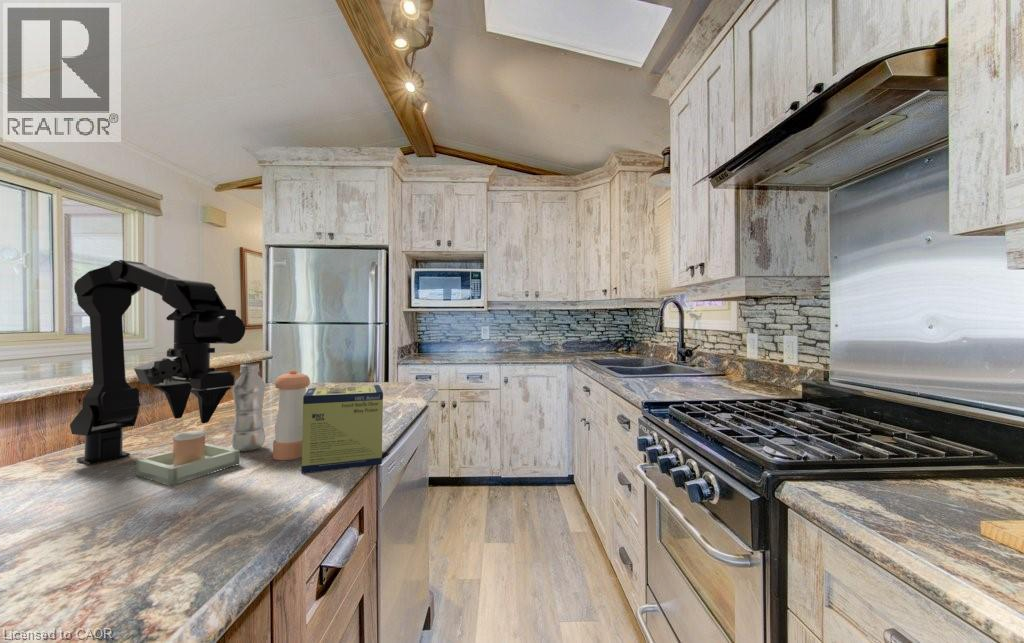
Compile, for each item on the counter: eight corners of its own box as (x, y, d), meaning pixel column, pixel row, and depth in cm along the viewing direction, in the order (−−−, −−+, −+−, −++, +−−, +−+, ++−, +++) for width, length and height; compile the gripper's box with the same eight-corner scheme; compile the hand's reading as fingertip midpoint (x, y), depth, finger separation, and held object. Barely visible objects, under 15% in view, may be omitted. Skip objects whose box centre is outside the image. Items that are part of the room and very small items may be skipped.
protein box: (383, 464, 84) (384, 391, 84) (300, 474, 78) (301, 395, 78) (379, 450, 93) (380, 384, 94) (305, 458, 87) (306, 387, 88)
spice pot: (167, 466, 78) (167, 435, 78) (196, 458, 83) (196, 429, 83) (182, 470, 76) (182, 438, 76) (210, 462, 81) (210, 432, 81)
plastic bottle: (271, 446, 95) (272, 363, 96) (250, 455, 89) (251, 366, 89) (246, 445, 96) (248, 362, 96) (223, 454, 89) (225, 365, 89)
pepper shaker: (298, 460, 86) (300, 372, 86) (265, 460, 86) (266, 371, 86) (315, 449, 93) (317, 368, 93) (285, 449, 93) (286, 368, 93)
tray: (135, 475, 77) (136, 459, 77) (204, 456, 88) (205, 443, 88) (170, 485, 72) (171, 469, 72) (239, 464, 83) (239, 450, 83)
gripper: (116, 343, 76) (114, 424, 76) (170, 346, 69) (169, 436, 68) (183, 341, 86) (182, 413, 86) (237, 343, 79) (236, 422, 79)
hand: (191, 420), depth 80 cm, fingers open, 9 cm apart
